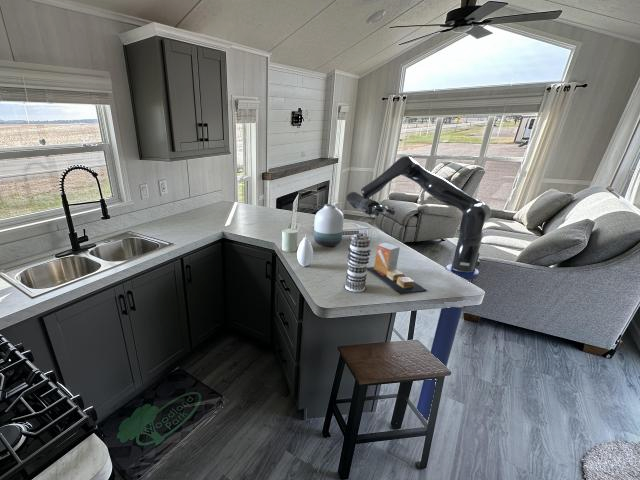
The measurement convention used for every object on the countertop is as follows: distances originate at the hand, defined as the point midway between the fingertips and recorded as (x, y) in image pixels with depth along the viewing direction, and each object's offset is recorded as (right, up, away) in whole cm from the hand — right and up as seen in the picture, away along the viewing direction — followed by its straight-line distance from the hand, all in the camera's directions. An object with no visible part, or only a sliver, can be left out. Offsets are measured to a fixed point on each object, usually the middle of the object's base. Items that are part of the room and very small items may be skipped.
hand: (386, 213), depth 164 cm
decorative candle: (-21, -36, -16) cm, 45 cm away
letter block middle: (0, -32, -10) cm, 33 cm away
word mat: (0, -33, -9) cm, 34 cm away
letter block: (+1, -35, -17) cm, 39 cm away
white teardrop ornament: (-39, -26, +9) cm, 48 cm away
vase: (-19, -12, +38) cm, 45 cm away
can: (-44, -16, +32) cm, 57 cm away
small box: (-2, -29, -2) cm, 29 cm away
